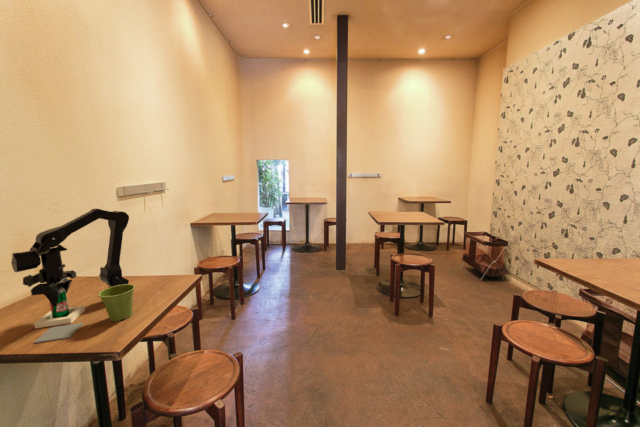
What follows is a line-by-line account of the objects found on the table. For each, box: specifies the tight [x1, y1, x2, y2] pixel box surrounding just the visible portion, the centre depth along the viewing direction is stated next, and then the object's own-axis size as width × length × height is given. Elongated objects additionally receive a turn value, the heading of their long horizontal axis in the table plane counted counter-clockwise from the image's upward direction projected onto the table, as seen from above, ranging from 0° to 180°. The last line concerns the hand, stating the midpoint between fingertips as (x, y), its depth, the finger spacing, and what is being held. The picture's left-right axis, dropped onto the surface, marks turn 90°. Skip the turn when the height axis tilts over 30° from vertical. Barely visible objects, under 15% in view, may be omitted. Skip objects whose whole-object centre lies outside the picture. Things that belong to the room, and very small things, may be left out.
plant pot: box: [97, 283, 136, 322], centre depth 115 cm, size 12×12×11 cm
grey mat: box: [33, 322, 84, 344], centre depth 106 cm, size 10×10×1 cm
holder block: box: [34, 305, 86, 329], centre depth 117 cm, size 11×11×2 cm
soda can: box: [49, 288, 70, 319], centre depth 116 cm, size 5×5×12 cm
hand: (58, 303), depth 116 cm, fingers closed on soda can, 5 cm apart
